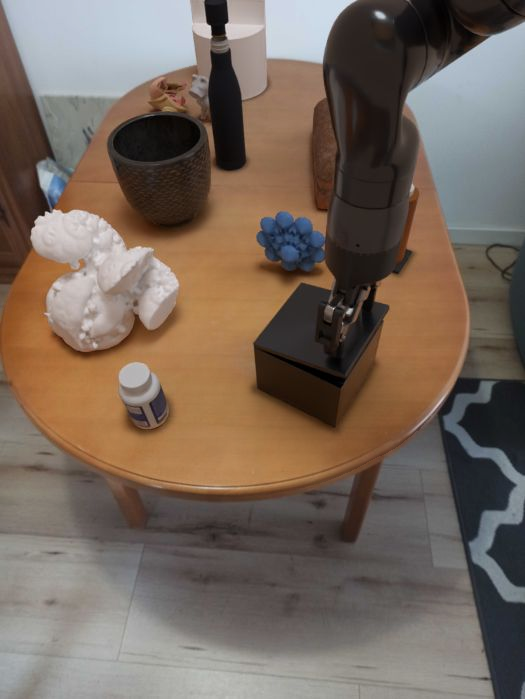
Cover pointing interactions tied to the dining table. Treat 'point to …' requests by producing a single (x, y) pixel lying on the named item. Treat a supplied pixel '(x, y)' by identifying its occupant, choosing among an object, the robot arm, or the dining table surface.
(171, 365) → the dining table surface
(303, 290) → the lid
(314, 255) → the grapes
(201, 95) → the dog figurine
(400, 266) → the coaster
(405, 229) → the amber bottle
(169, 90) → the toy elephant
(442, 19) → the robot arm
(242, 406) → the dining table surface
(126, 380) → the pill bottle
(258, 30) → the cylinder
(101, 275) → the white lumpy sculpture
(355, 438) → the dining table surface
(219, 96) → the black water bottle
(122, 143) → the planter
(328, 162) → the bread
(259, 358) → the black hinged box
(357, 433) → the dining table surface
